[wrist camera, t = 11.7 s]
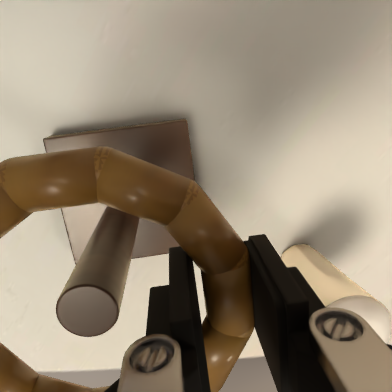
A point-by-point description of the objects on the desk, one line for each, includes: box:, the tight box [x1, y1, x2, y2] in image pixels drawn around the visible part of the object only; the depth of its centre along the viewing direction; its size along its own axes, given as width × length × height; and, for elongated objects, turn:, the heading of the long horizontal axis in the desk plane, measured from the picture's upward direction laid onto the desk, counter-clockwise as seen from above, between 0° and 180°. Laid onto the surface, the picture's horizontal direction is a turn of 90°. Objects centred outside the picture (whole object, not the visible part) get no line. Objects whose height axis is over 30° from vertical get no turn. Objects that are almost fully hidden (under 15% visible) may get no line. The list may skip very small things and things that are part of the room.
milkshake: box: [281, 244, 392, 344], centre depth 22 cm, size 5×5×10 cm
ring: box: [0, 146, 255, 392], centre depth 11 cm, size 10×10×2 cm
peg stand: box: [43, 119, 195, 337], centre depth 17 cm, size 9×9×14 cm
